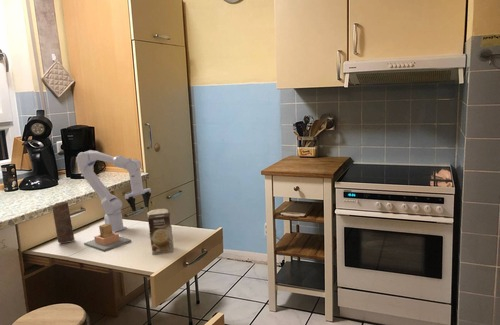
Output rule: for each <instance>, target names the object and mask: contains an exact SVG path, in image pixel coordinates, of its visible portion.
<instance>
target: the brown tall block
mask: <svg viewBox="0 0 500 325" xmlns="http://www.w3.org/2000/svg"><path fill="white" fill-rule="evenodd" d="M51 208H52V213H53V214H52V215H53V220H54V225H55V231H56V233H55V234H56V237H57V243H59V244H66V243H69V242H74V241H75V236H74V231H73V230H74V229H73V225H72V224H73V223H72V220H71V213H70V208H69V202H68V201H62V202H56V203H54V205H51Z"/></svg>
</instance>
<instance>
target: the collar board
mask: <svg viewBox="0 0 500 325" xmlns="http://www.w3.org/2000/svg"><path fill="white" fill-rule="evenodd" d="M112 233H113V235H112V236H109V237H106V238H102V237H101V235H100V234H98V235H96V236H95V235H94V239H92V240H88V241H85V242H83V245H84V246H86V247H88V248H93V249H95V250H98V251H102V252H105V253H106V252H107V251H110V250H113V249H115V248H117V247H118V248H119V247H121V246H124V245H126V244H129V243H131V242H132V239H129V238H126V237H124V236H120V234H119V233H117V232H112Z"/></svg>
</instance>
